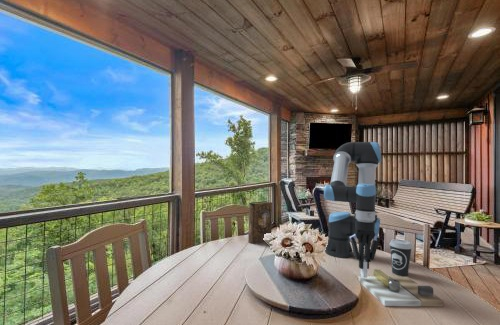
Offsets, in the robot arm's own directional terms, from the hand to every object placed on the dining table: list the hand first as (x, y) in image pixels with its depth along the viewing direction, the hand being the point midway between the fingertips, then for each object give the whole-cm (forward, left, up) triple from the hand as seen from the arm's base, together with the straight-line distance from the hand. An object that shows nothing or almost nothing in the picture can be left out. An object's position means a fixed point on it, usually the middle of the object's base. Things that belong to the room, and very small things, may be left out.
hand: (363, 276), depth 109 cm
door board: (+7, +11, -4) cm, 13 cm away
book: (-60, -39, -4) cm, 72 cm away
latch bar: (+4, +8, -1) cm, 9 cm away
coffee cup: (-12, +24, -4) cm, 27 cm away
